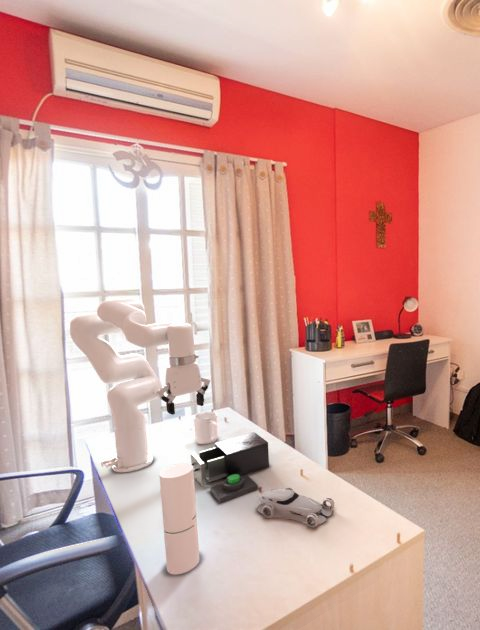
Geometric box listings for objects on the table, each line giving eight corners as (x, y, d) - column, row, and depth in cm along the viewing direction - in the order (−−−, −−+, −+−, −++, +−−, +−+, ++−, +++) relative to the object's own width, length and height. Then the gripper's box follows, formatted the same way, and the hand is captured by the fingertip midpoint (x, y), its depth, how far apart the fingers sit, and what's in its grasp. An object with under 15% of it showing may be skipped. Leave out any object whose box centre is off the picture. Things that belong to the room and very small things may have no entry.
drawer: (188, 491, 136) (186, 468, 135) (178, 478, 144) (177, 456, 143) (243, 472, 148) (241, 451, 147) (231, 461, 156) (230, 441, 155)
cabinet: (228, 480, 144) (226, 454, 143) (216, 467, 153) (214, 443, 152) (269, 466, 154) (268, 442, 153) (255, 455, 163) (254, 431, 162)
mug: (191, 441, 175) (189, 416, 174) (211, 434, 182) (210, 410, 181) (205, 449, 168) (204, 422, 167) (226, 441, 175) (225, 416, 174)
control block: (220, 503, 131) (219, 493, 130) (210, 491, 137) (210, 481, 137) (257, 489, 139) (257, 479, 139) (247, 479, 145) (246, 469, 145)
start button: (230, 485, 135) (229, 480, 135) (226, 481, 138) (226, 476, 138) (241, 482, 138) (241, 477, 137) (237, 477, 140) (237, 473, 140)
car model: (317, 530, 118) (317, 514, 117) (248, 513, 126) (247, 497, 125) (337, 508, 128) (337, 493, 128) (272, 494, 136) (271, 479, 135)
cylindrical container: (204, 553, 108) (198, 463, 105) (190, 574, 101) (183, 477, 98) (176, 554, 108) (169, 463, 105) (160, 574, 101) (152, 478, 98)
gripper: (201, 354, 149) (205, 400, 151) (149, 364, 135) (153, 415, 137) (213, 356, 145) (216, 404, 147) (160, 367, 131) (165, 419, 133)
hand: (186, 409), depth 142 cm, fingers open, 9 cm apart
